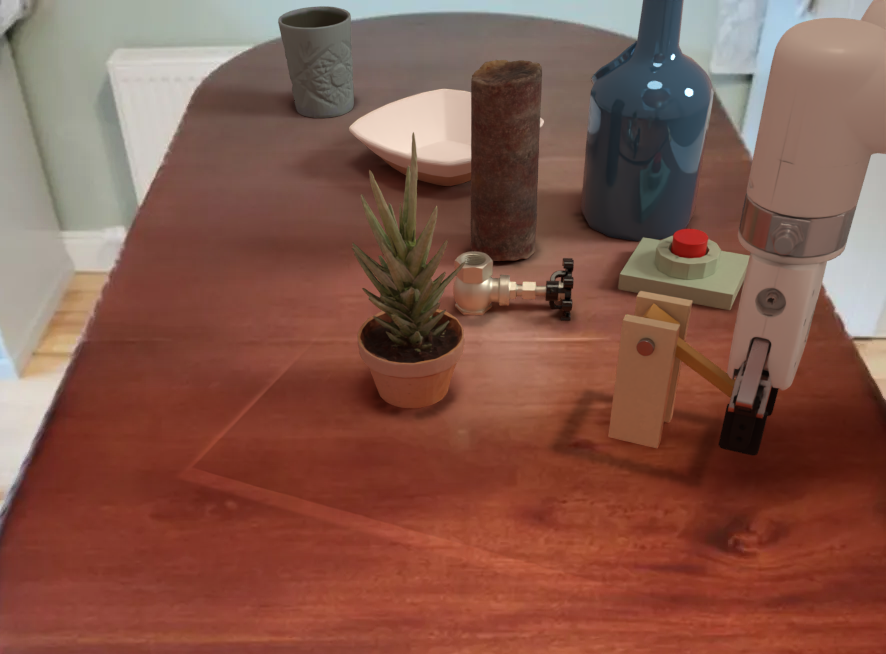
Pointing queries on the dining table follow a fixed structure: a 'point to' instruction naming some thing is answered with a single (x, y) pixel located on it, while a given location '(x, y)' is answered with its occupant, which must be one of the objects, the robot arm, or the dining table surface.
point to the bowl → (423, 135)
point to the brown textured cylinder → (505, 158)
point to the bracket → (648, 370)
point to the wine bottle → (646, 133)
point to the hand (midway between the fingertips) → (745, 428)
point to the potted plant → (407, 306)
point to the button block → (685, 273)
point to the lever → (697, 357)
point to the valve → (506, 286)
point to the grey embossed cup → (319, 60)
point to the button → (689, 243)
